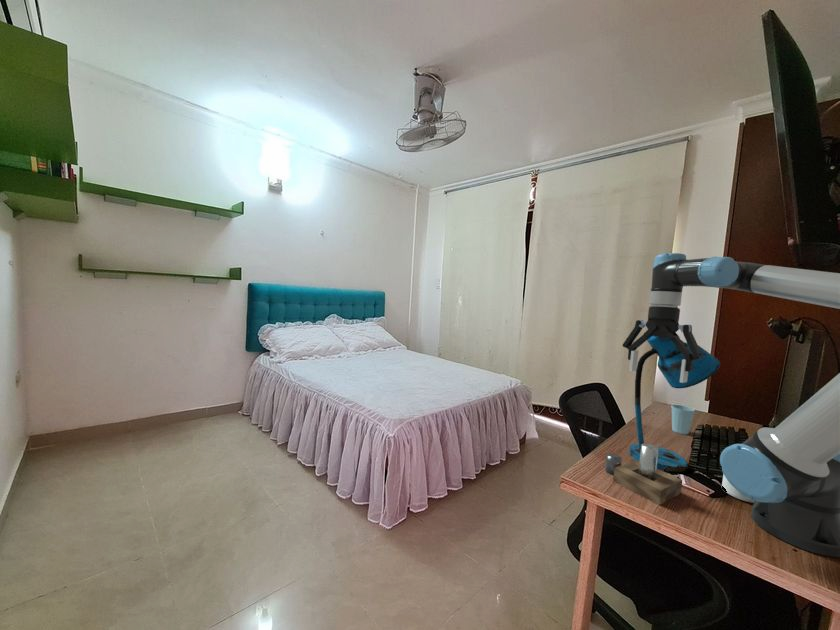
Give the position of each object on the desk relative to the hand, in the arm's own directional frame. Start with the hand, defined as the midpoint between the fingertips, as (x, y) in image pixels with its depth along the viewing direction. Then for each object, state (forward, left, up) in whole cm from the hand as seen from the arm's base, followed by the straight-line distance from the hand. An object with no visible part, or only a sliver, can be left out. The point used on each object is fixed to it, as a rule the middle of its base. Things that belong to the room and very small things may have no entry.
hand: (656, 376), depth 99 cm
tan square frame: (-4, +8, -31) cm, 32 cm away
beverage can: (-18, -14, -31) cm, 38 cm away
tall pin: (-4, +8, -31) cm, 32 cm away
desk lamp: (+2, -16, -31) cm, 35 cm away
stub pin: (+5, +9, -31) cm, 32 cm away
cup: (+12, -53, -31) cm, 63 cm away
